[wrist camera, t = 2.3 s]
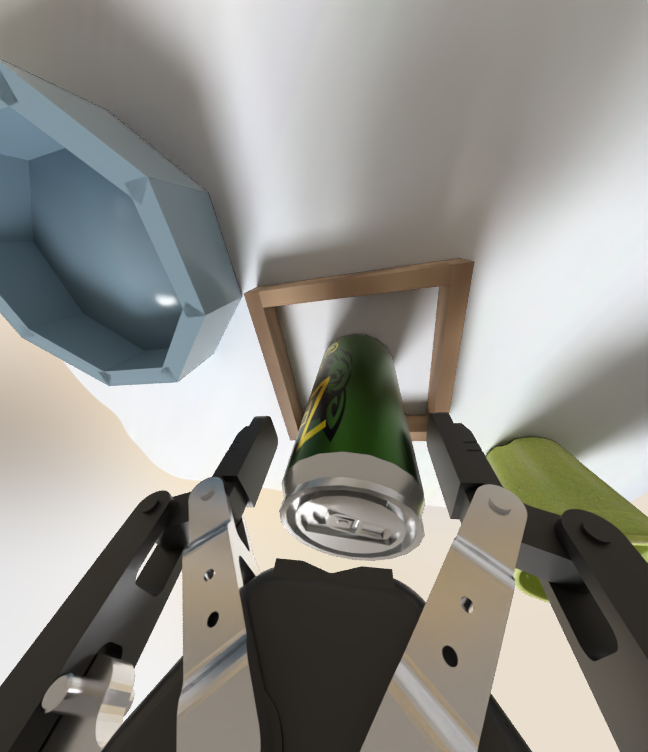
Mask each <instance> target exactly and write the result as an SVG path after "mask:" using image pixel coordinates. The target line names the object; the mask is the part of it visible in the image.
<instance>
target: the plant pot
mask: <svg viewBox="0 0 648 752" xmlns="http://www.w3.org/2000/svg"><path fill="white" fill-rule="evenodd" d="M486 458H487V460H488V462H489V463H490V465H491V467H492V469H493V470H494V472H495V474H496V476H497V477H498V479H499V481H500V483H501V484H502V486H503V487H504V488H505V489H507V490H509V491H510V492H512V493H513V494H515V495H516V496H517V497H518V498H519V499H520V500H521V501H522V502H523V503H525V504H527V505H529V506H532V507H535V508H538V509H541V510H545V511H548V512H551V513H555V514H558V515H562V514H563V513H564V512H565V511H566V510H569V509H581V510H585V511H589V512H591V513H594V514H596V515H598V516H600V517H602V518H604V519H606V520H607V521H609V522H610V523H612V524H613V525H614V526H615V527H617V528H618V529H619V530H620V531H621V532H622V533H623V534H624V535H625V536H626V537H627V539H628V540H629V541H630V542H631V543H632V545H633V546H634V547H635V548H636V550H637V551H638V552H639V553H640V554H641V556H642V557H643V558H644V559H645V560H646V562H647V563H648V517H647V516H646V515H645V514H643V513H642V512H641V511H640V510H638V509H637V508H636V507H635V506H633V505H632V504H631V503H630V502H628V501H627V500H626V499H625V498H623V497H622V496H621V495H620V494H619V493H617V492H616V491H615V490H614V489H612V488H611V487H610V486H609V485H607V484H606V483H605V482H604V481H603V480H601V479H600V478H599V477H598V476H596V475H595V474H594V473H593V472H591V471H590V470H589V469H588V468H587V467H585V466H584V465H583V464H582V463H581V462H579V461H578V460H577V459H576V458H575V457H573V456H572V455H571V454H570V453H568V452H567V451H566V450H565V449H564V448H562V447H561V446H560V445H558V444H557V443H555V442H553V441H551V440H548V439H545V438H537V437H526V438H519V439H515V440H513V441H512V442H511V443H509V444H508V445H505V446H501V447H495V448H494V449H493V450H491V451H490V452H489V453H488V455H487V456H486ZM514 578H515V585H516V586H517V588H518V589H520V590H521V591H522V592H523V593H525V594H527V595H529V596H531V597H534V598H537V599H539V600H542V601H545V602H549V600H548V597H547V595H546V593H545V591H544V589H543V587H542V585H541V583H540V580H539V578H538V577H536V576H534V575H531V574H529V573H527V572H524V571H522V570H519V569H517V568H515V570H514ZM549 603H550V602H549Z"/></svg>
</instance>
